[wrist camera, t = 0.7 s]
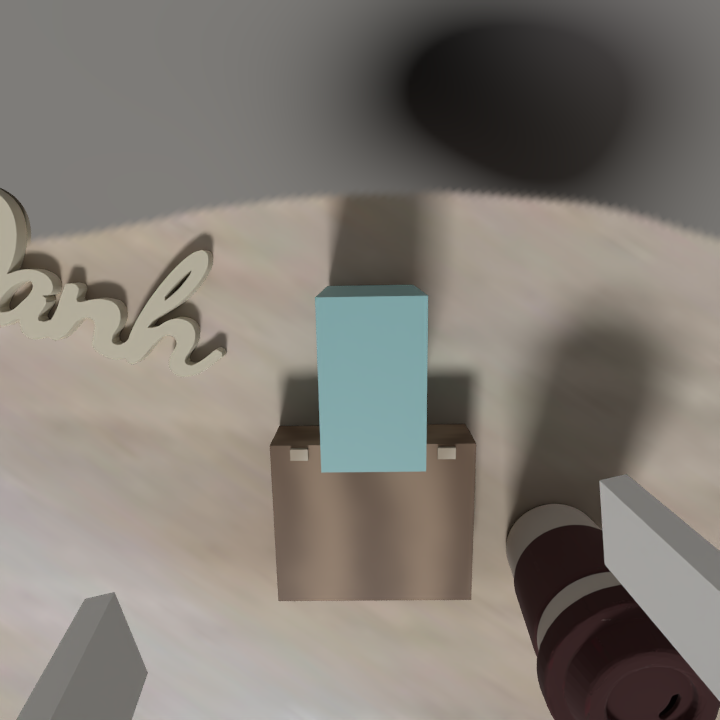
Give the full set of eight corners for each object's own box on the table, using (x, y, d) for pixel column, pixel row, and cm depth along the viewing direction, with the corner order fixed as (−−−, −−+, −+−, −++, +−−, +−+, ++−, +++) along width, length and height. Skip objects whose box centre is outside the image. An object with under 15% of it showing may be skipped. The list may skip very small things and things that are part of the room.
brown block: (465, 424, 39) (476, 444, 35) (461, 566, 41) (471, 601, 37) (279, 426, 39) (269, 447, 35) (286, 567, 41) (278, 603, 37)
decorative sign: (-104, 306, 36) (-89, 162, 34) (-85, 304, 38) (-70, 166, 36) (212, 396, 37) (245, 261, 35) (218, 390, 39) (250, 261, 37)
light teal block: (412, 284, 36) (428, 295, 27) (412, 420, 38) (426, 471, 29) (327, 285, 36) (315, 297, 27) (331, 421, 38) (321, 472, 29)
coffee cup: (465, 522, 40) (521, 678, 26) (579, 462, 39) (707, 589, 25) (522, 617, 42) (606, 814, 27) (634, 563, 41) (783, 738, 26)
